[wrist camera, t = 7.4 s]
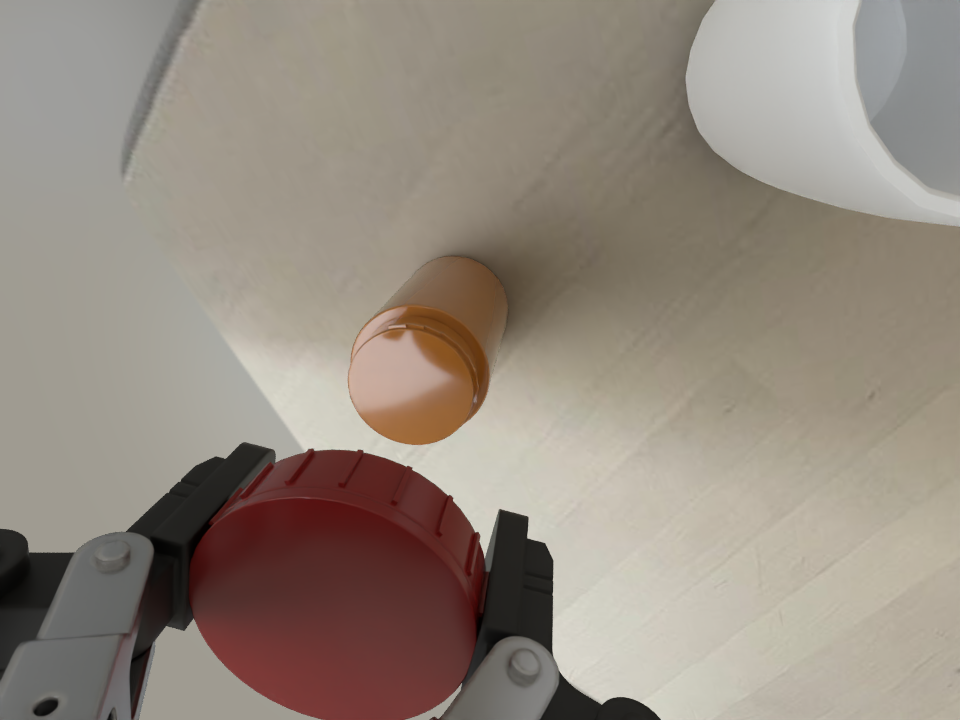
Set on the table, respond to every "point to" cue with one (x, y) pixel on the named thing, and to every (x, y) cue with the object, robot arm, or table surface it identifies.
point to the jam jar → (429, 352)
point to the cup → (836, 100)
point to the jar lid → (341, 587)
